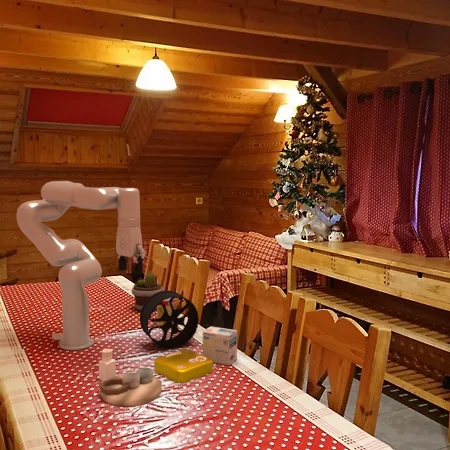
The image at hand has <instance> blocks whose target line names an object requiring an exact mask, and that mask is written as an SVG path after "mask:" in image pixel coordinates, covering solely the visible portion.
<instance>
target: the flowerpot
mask: <svg viewBox="0 0 450 450" xmlns="http://www.w3.org/2000/svg"><path fill="white" fill-rule="evenodd" d="M142 278H143V277H140V279H138V280H137V281H136V283H135V284H133V287H132V288H131V295H133V297H134V301H135V302H134V307H135V309H136V310H137V311H138V312H141V309H142V307H143V305H144V303H145V302H146V301H147V299H148V298H150V297H151V296H152V295H154V294H155V293H157V292H160V291H164V288H163V286H162V285H161V284H159V283H157V281H156V280H157V276H156V273H154V271H153V270H148V271H147V272H146V273H145V274H144V278H143V279H142ZM153 312H157V307H156V308H155V310H154V311H153Z"/></svg>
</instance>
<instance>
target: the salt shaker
mask: <svg viewBox="0 0 450 450" xmlns="http://www.w3.org/2000/svg"><path fill="white" fill-rule="evenodd" d="M116 365H117V363H116V359H113V349H111V348H104V349H102V350H101V360H99V361H98V379H99V380H100V381H102V382H103V381H106V380H108V379H110V378H112V377H115V376H117V374H116V372H117V371H116V369H117V368H116Z"/></svg>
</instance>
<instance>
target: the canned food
mask: <svg viewBox="0 0 450 450" xmlns="http://www.w3.org/2000/svg"><path fill="white" fill-rule="evenodd" d="M170 299H171V298H168V299H166V300H163V301H162V302H161V303H164V304H165V306H166V309H167V312H168V315H169V316H171V313H172V310H171V307H170V303H169V300H170ZM176 303H177V298H174V299H173V300H172V306H173V308H174V309H176V310H177V304H176ZM156 313H157V314H156V315H157V316H156V318H161V317H162V315H163V314H164V309H163V307H162V304H159V305H158V306H157V310H156ZM156 323H157V325H156V326H160V325H164V324H166V322H165V321H160V322H156Z"/></svg>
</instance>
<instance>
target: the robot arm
mask: <svg viewBox="0 0 450 450" xmlns="http://www.w3.org/2000/svg"><path fill="white" fill-rule="evenodd" d="M40 196H41V197H42V199H38V200H37V199H36V200H34V199H33V200H29V201H25V202H23V203H22V204H20V205H19V206H18V208H17V210H16V221H17V222H16V223H17V225H18V227H19V229H20V231H21V232H22V233H23V234H24V236H26V238H27V239H28V240H30V241H31V242H32V243H33V244H34V246H35V247H36V249H37V250H38V251H39V252H40V253H41V255H42V256H43V257H44V258H45V260H46V261H47V262H48V263H49V264H50V265H52V266H53V267H61V268H60V269H59V271H58V284H59V286H60V287H59V288H60V291H61V307H62V309H61V310H62V311H61V312H62V332H61V333H56V332H54V333H52V335H51V338H52V340H53V341H58V342H59V343H58V347H59V348H60V349H62V350H67V351H77V350H78V351H79V350H84V349H87V348H89V347H92V346H93V345H94V340H95V339H93V338H92V337H90V311H89V310H90V304H89V303H90V302H89V295H88V293H87V290H86V288H85V286H86V285H87V286H88V285H89V284H90V285H91V284H92V283H95V282H98V281H99V280H100V279H101V277H102V273H103V270H102V266H101V263H100V262H99V260H98V259H96V257H95V256H94V255H93V253H92V252H91V251H90V249H88V248H87V247H86V245H85V244H84V243H83V242H81V241H80V240H79V239H75V238H68V239H61V238H60V237H59V236H58V235H57V234H56V233H55V231H54V230H53V229H52V228H50V226H47V225H46V224H44V222H51V221H57V220H58V219H59V218H61V217H62V216H63V215H64V214H65V212H66V211H68V209H70V207H76V208H78V209H87V210H95V211H99V210H102V211H103V210H112V209H117V224H118V225H117V226H118V227H117V230H116V243H115V244H116V245H115V247H114V248H115V250H116V251H115V252H116V256H117V260H118V271H127V270H128V258H133V260H134V263H133V271H134V272H133V275H142V274H143V273H144V262H145V257H146V254H147V252H146V250H145V249H144V247H143V237H142V236H143V235H142V231H141V208H140V207H141V205H140V200H141V199H140V197H141V196H140V190H139V189H138V188H137V187H118V186H110V187H109V186H108V187H105V186H103V187H89V186H85V185H84V184H83V183H80V182H73V181H70V180H56V181H55V180H53V181H52V180H51V181H49V182H46V183H45V184H44V185H42V187H41V190H40Z"/></svg>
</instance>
